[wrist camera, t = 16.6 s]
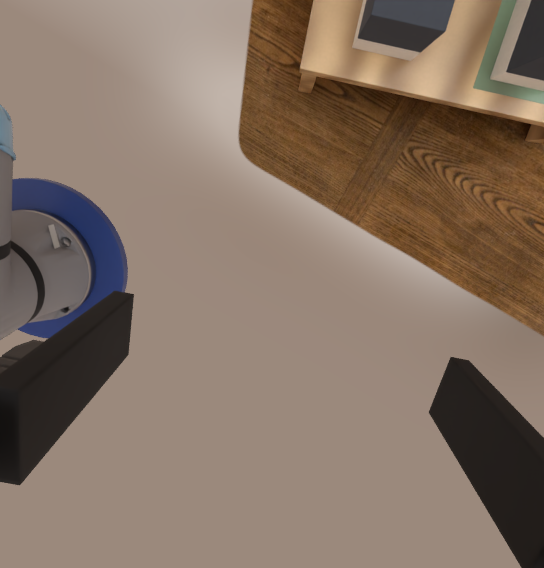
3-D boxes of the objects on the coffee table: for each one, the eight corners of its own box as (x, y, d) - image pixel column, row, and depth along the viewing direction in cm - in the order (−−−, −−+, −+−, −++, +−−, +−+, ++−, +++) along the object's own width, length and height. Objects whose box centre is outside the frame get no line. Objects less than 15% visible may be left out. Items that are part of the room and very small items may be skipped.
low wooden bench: (296, 90, 43) (299, 68, 33) (334, -100, 38) (351, -192, 28) (538, 144, 44) (609, 137, 34) (609, -34, 39) (717, -101, 29)
